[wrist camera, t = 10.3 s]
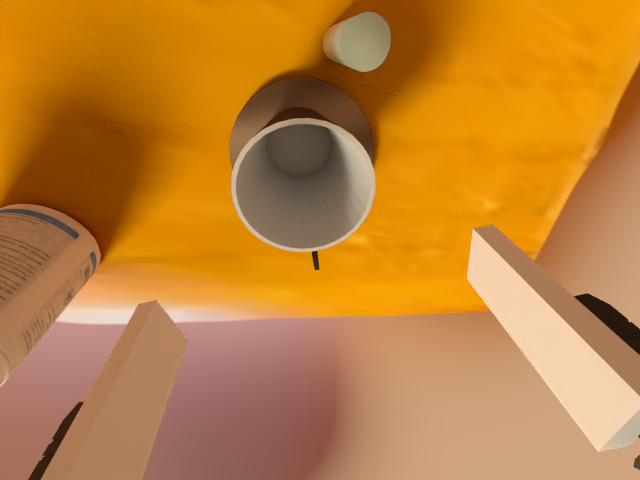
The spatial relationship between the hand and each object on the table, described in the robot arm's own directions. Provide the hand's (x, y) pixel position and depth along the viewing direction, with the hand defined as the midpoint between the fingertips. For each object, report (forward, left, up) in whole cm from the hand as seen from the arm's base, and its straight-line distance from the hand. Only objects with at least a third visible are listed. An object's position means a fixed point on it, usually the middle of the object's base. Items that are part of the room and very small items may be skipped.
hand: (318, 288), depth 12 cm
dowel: (-7, +6, -18) cm, 20 cm away
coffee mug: (0, -1, -17) cm, 17 cm away
